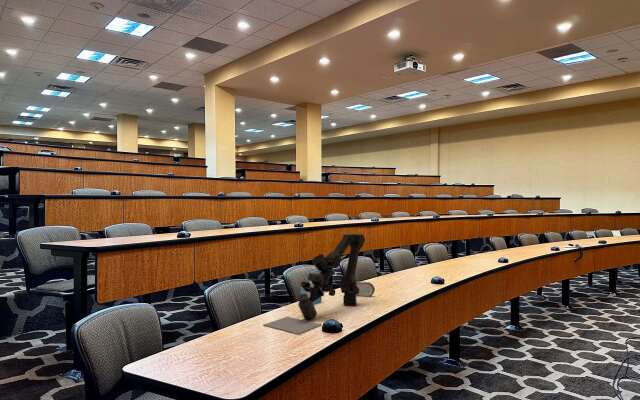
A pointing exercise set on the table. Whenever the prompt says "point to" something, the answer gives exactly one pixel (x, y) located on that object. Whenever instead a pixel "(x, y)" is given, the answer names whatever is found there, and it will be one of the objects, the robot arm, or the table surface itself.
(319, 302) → the data package
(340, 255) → the robot arm
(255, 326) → the table surface
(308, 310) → the supplement bottle
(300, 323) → the mat
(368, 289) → the beige rounded slab
